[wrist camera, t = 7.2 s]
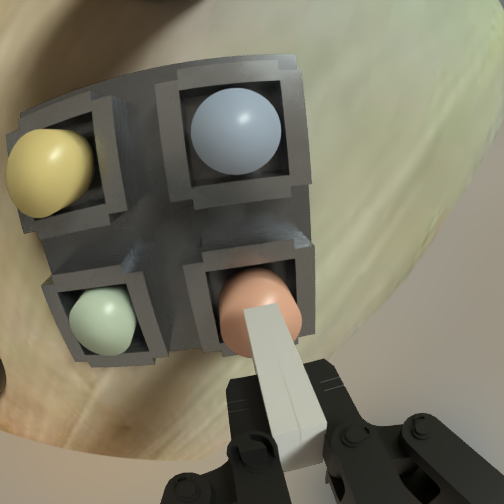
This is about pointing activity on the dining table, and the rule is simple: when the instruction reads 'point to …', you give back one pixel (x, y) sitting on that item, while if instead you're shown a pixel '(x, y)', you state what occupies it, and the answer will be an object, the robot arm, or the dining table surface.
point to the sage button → (104, 319)
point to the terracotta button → (253, 305)
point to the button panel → (175, 204)
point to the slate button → (235, 131)
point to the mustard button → (49, 171)
